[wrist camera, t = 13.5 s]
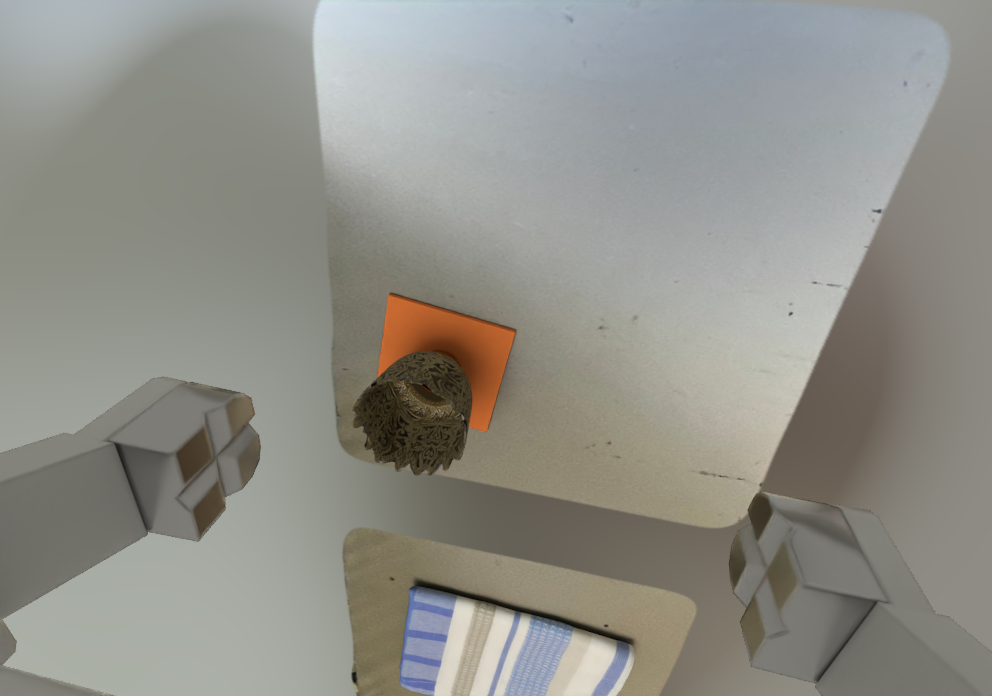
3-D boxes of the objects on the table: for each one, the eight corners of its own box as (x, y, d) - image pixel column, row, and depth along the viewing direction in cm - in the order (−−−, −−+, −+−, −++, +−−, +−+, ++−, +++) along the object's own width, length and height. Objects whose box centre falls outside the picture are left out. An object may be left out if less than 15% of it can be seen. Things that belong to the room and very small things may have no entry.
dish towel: (594, 723, 61) (594, 751, 58) (399, 665, 62) (391, 690, 60) (642, 639, 52) (644, 668, 49) (413, 575, 53) (404, 599, 51)
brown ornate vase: (381, 329, 39) (334, 388, 32) (475, 316, 37) (445, 375, 30) (411, 411, 42) (374, 480, 36) (499, 402, 40) (477, 474, 34)
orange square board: (390, 292, 38) (388, 295, 38) (516, 330, 38) (515, 332, 37) (376, 395, 43) (374, 398, 42) (487, 429, 42) (486, 432, 42)
